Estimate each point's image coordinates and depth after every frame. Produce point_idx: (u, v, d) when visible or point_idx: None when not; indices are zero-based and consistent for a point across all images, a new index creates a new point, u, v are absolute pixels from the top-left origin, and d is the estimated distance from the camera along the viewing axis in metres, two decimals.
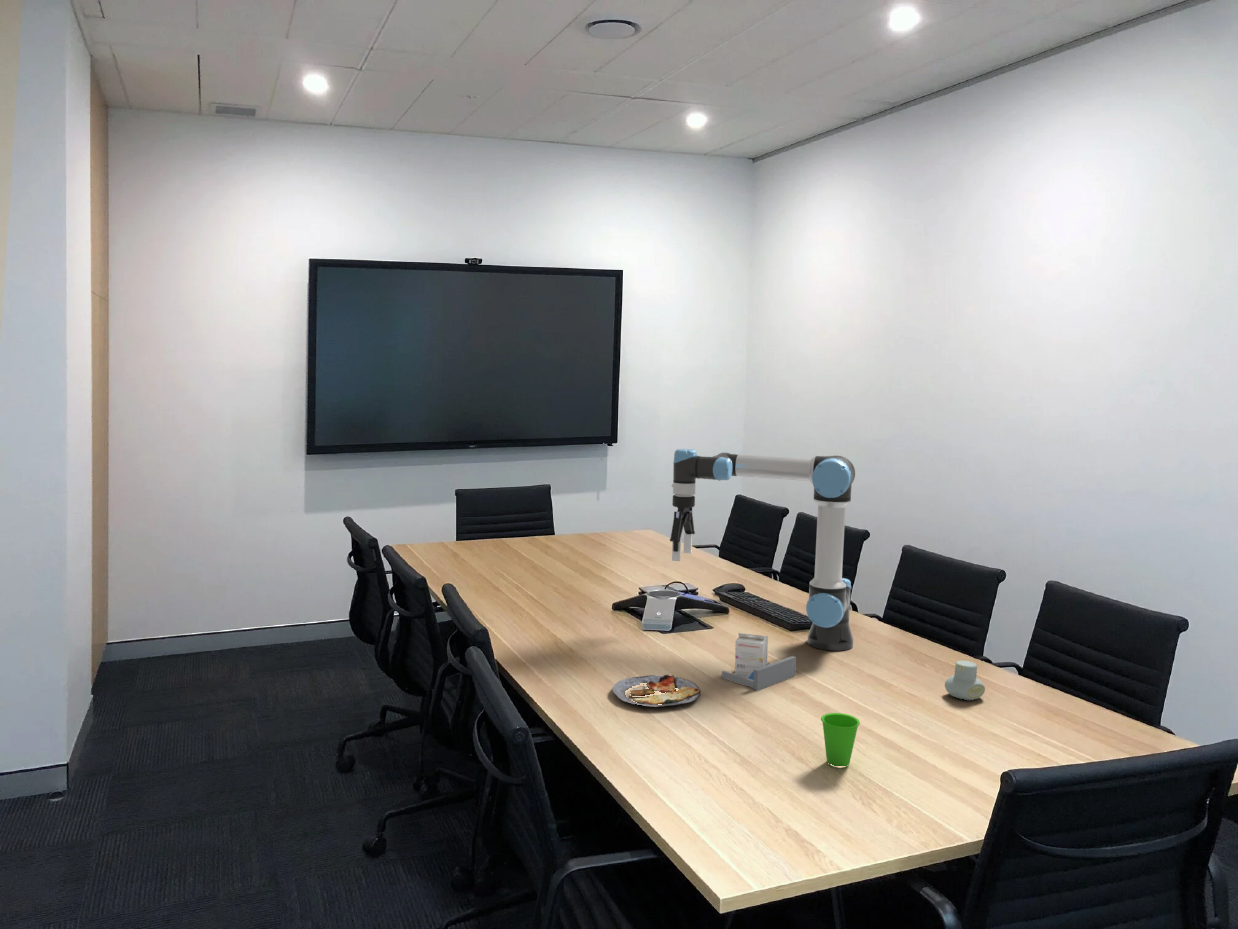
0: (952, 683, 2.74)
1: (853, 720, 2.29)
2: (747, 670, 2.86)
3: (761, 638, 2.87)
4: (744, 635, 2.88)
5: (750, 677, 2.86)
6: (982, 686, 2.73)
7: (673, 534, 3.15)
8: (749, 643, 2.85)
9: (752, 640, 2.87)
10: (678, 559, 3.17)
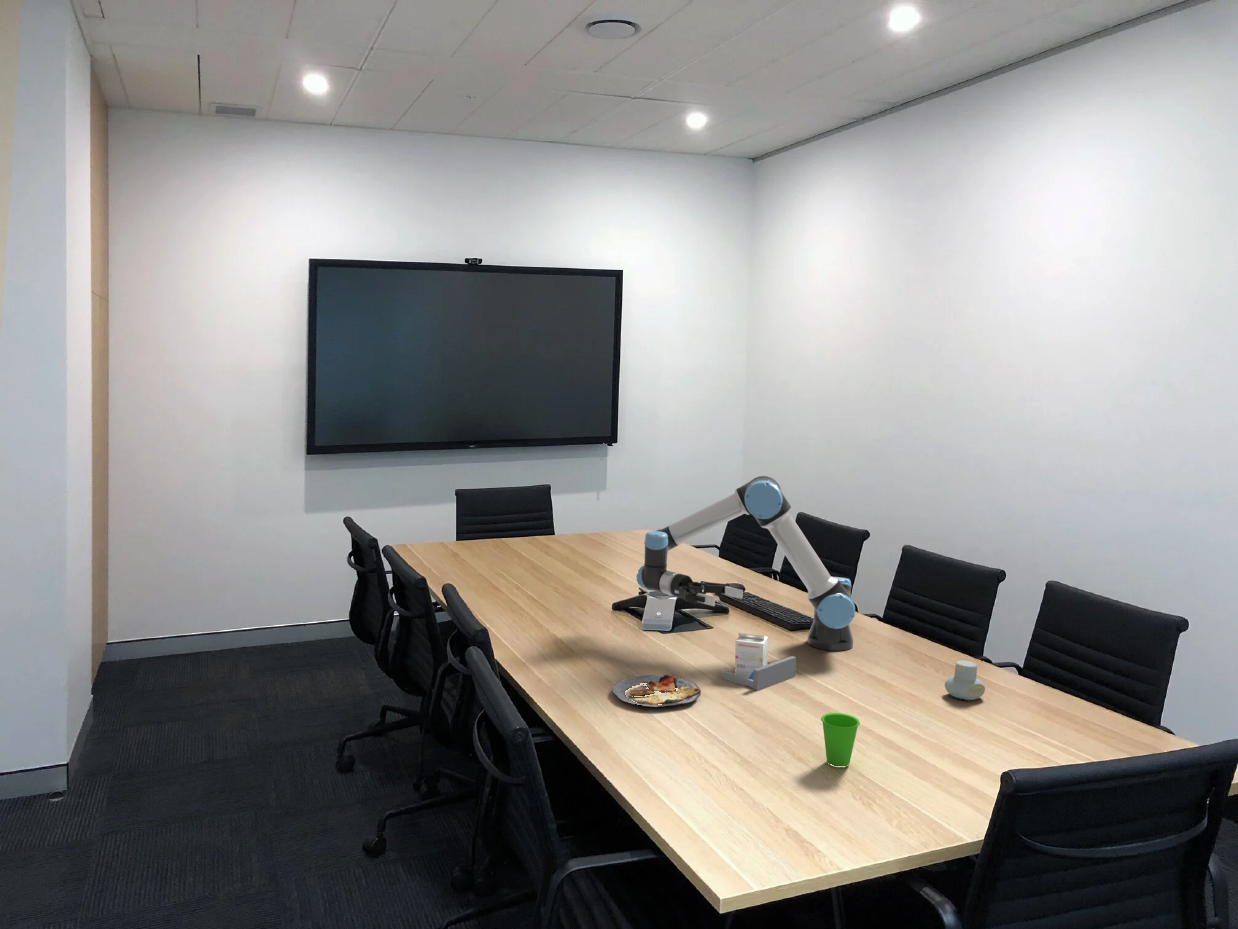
0: (952, 683, 2.74)
1: (853, 720, 2.29)
2: (747, 670, 2.86)
3: (761, 638, 2.87)
4: (744, 635, 2.88)
5: (750, 677, 2.86)
6: (982, 686, 2.73)
7: (685, 598, 2.95)
8: (749, 643, 2.85)
9: (752, 640, 2.87)
10: (712, 598, 2.90)
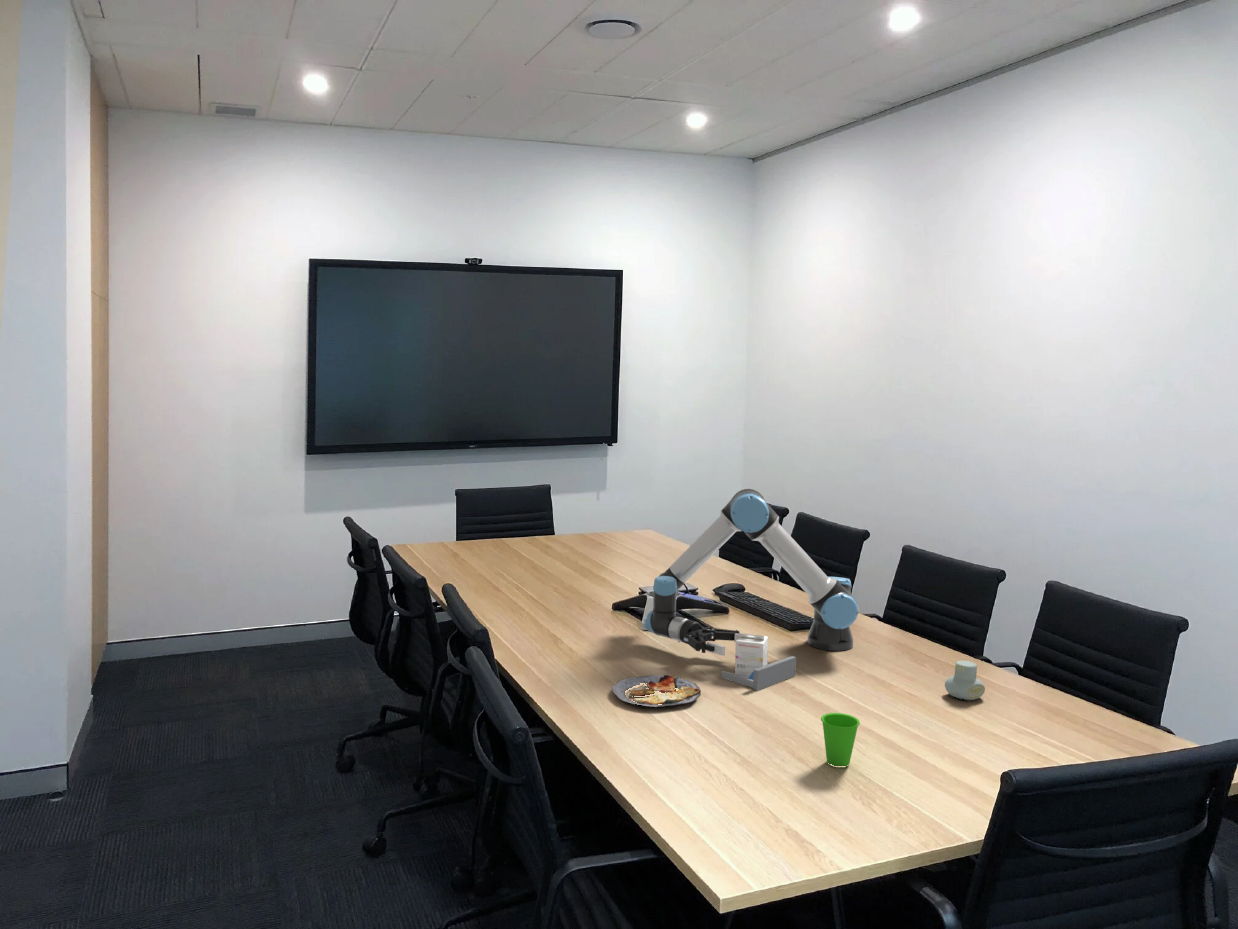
0: (952, 683, 2.74)
1: (853, 720, 2.29)
2: (747, 670, 2.86)
3: (761, 638, 2.87)
4: (744, 635, 2.88)
5: (750, 677, 2.86)
6: (982, 686, 2.73)
7: (694, 647, 2.92)
8: (749, 643, 2.85)
9: (752, 640, 2.87)
10: (721, 648, 2.88)
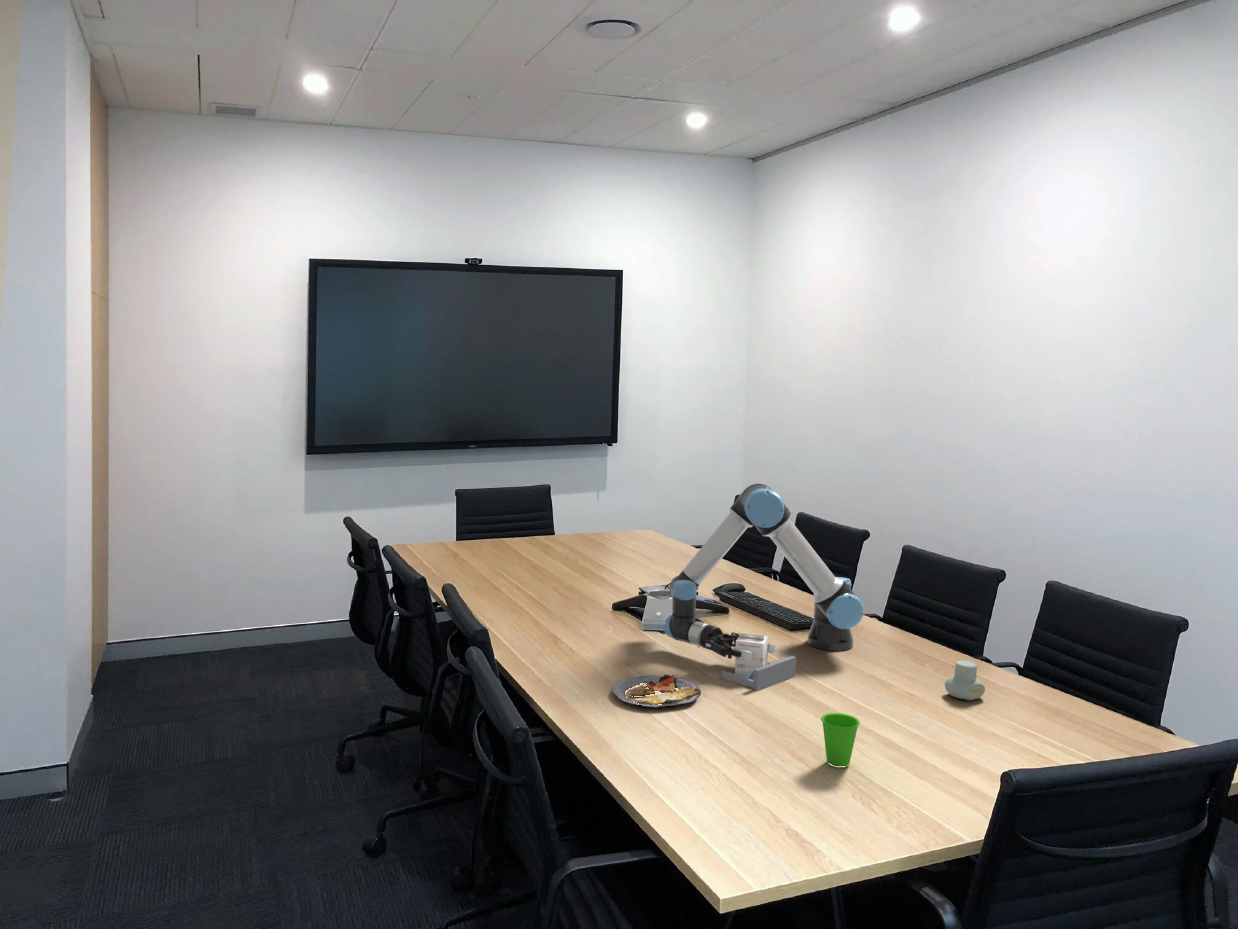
0: (952, 683, 2.74)
1: (853, 720, 2.29)
2: (747, 670, 2.86)
3: (761, 638, 2.87)
4: (744, 635, 2.88)
5: (750, 677, 2.86)
6: (982, 686, 2.73)
7: (720, 652, 2.87)
8: (749, 643, 2.85)
9: (752, 640, 2.87)
10: (748, 653, 2.83)
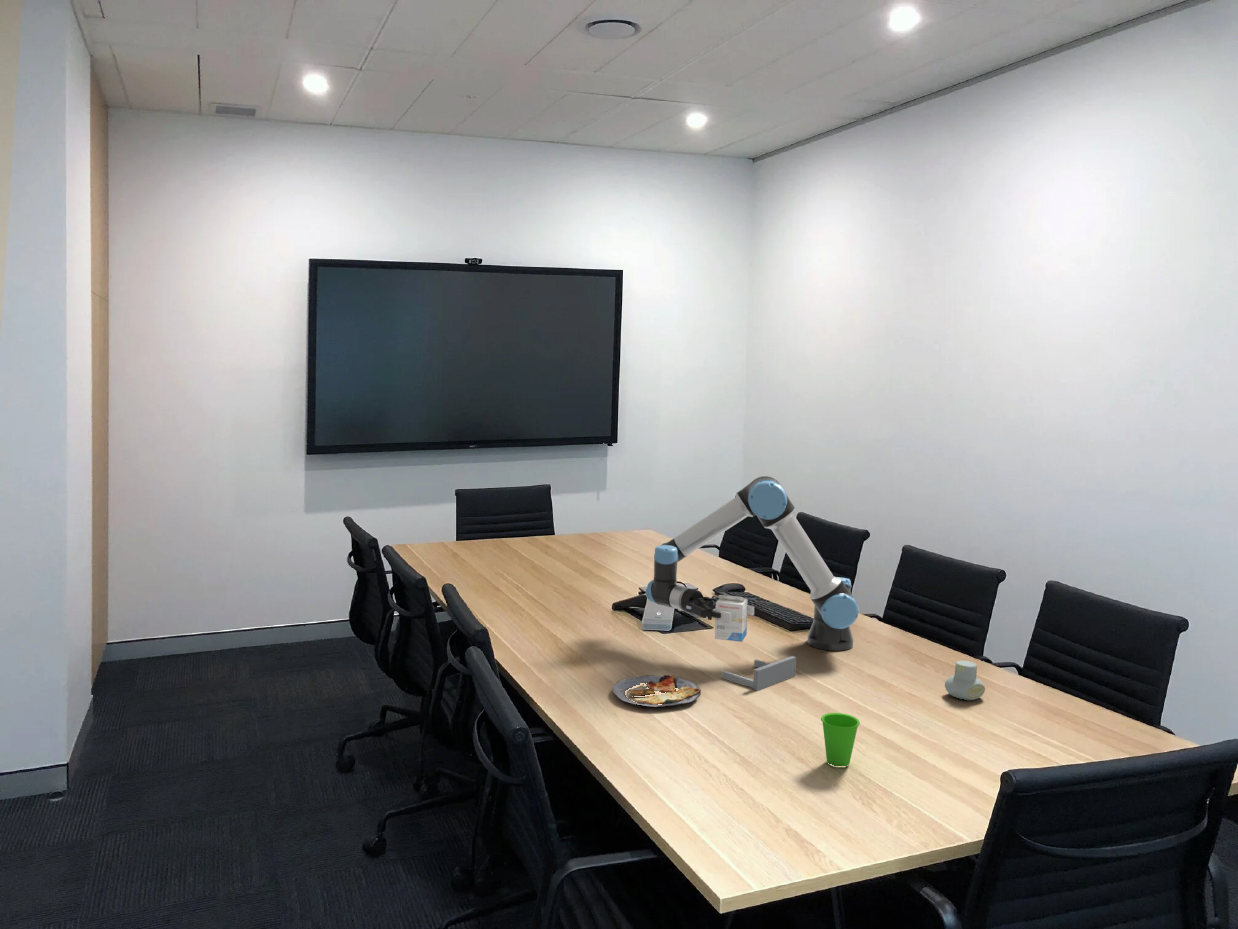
0: (952, 683, 2.74)
1: (853, 720, 2.29)
2: (727, 631, 2.90)
3: (741, 600, 2.92)
4: (724, 597, 2.93)
5: (730, 638, 2.91)
6: (982, 686, 2.73)
7: (700, 614, 2.91)
8: (729, 604, 2.89)
9: (732, 601, 2.91)
10: (728, 614, 2.87)
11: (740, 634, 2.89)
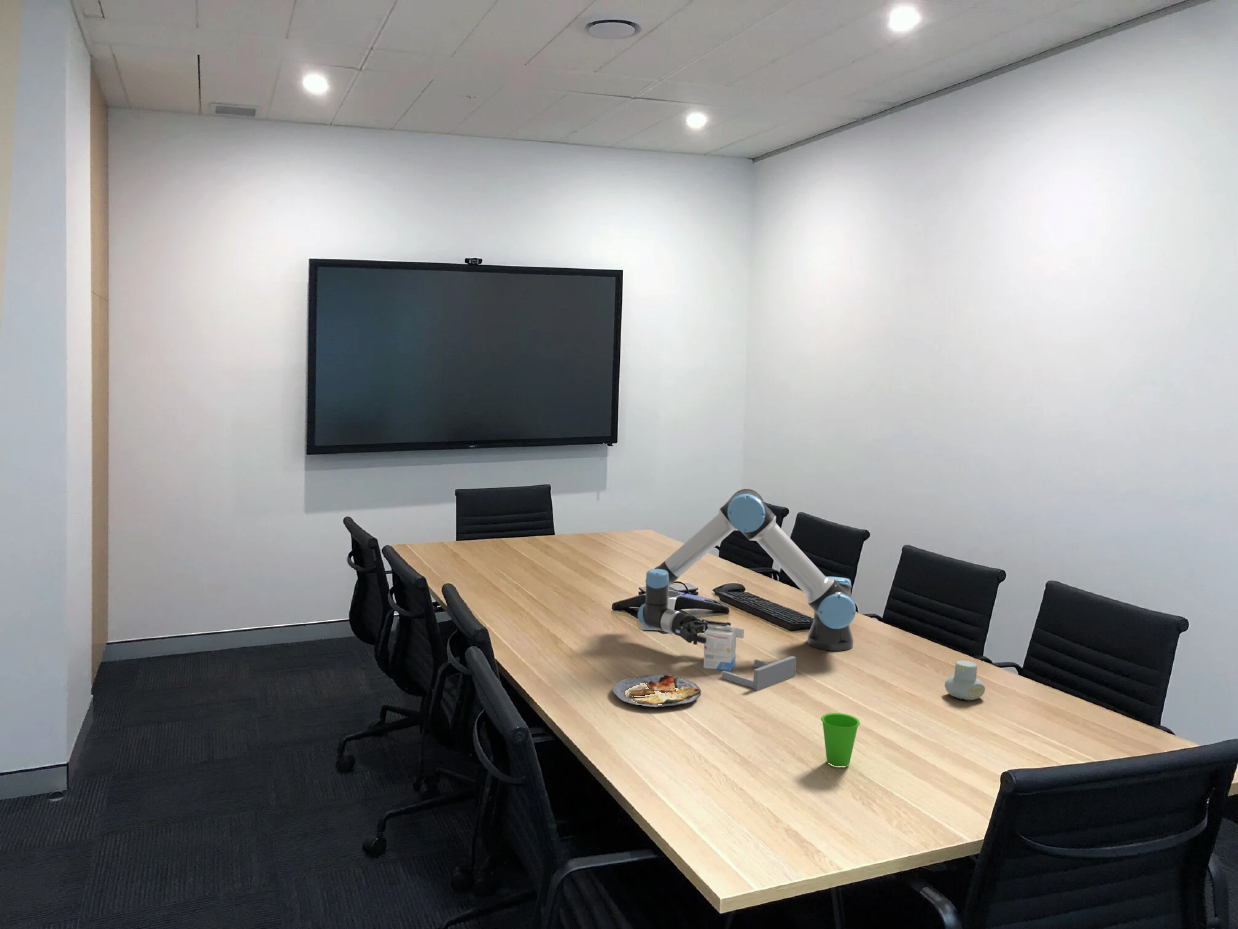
0: (952, 683, 2.74)
1: (853, 720, 2.29)
2: (715, 660, 2.95)
3: (729, 629, 2.96)
4: (713, 626, 2.97)
5: (718, 667, 2.95)
6: (982, 686, 2.73)
7: (686, 638, 2.95)
8: (717, 634, 2.94)
9: (720, 631, 2.95)
10: (713, 639, 2.91)
11: (728, 663, 2.93)
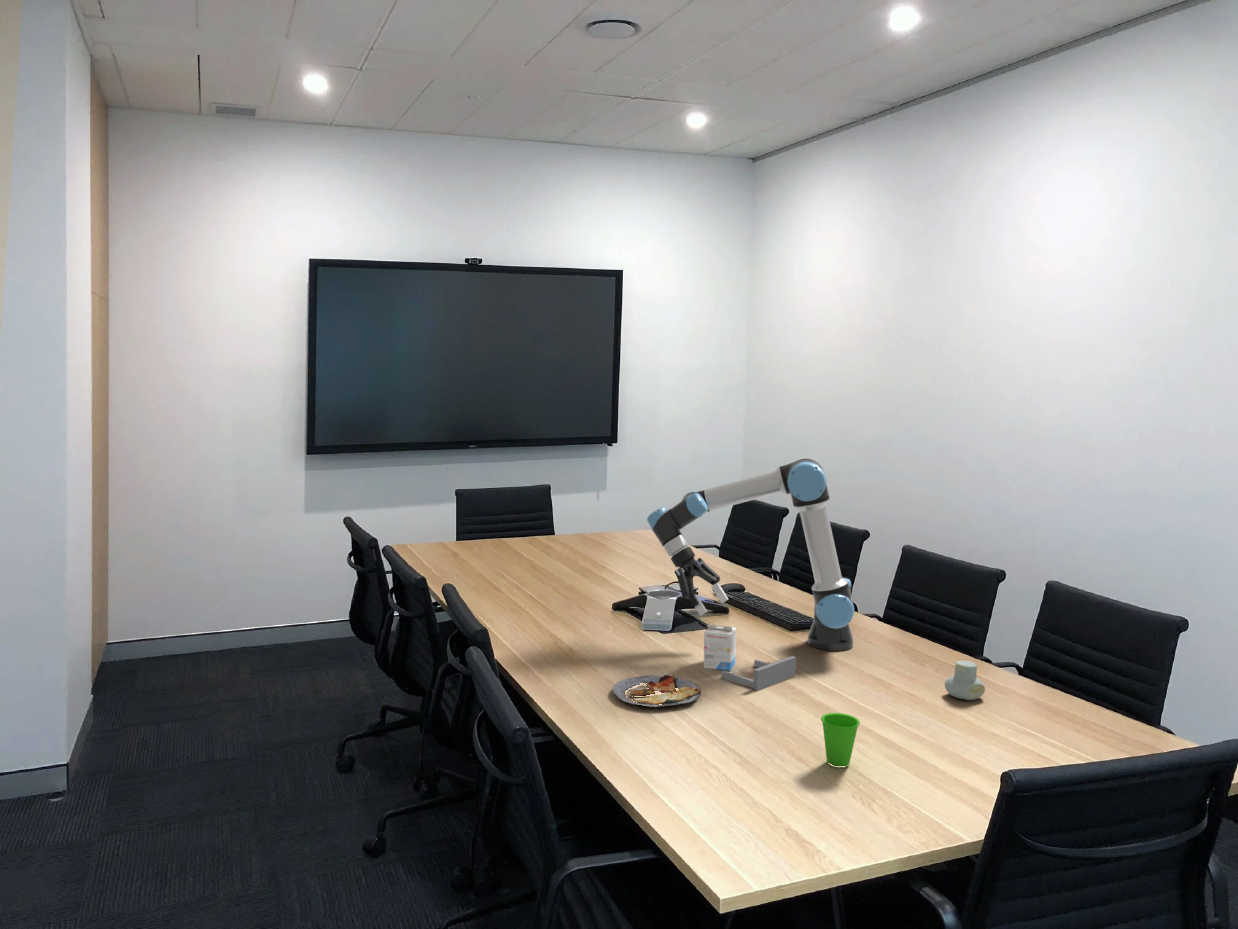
0: (952, 683, 2.74)
1: (853, 720, 2.29)
2: (715, 660, 2.95)
3: (729, 629, 2.96)
4: (713, 626, 2.97)
5: (718, 667, 2.95)
6: (982, 686, 2.73)
7: (682, 591, 3.03)
8: (717, 634, 2.94)
9: (720, 631, 2.95)
10: (704, 611, 3.03)
11: (728, 663, 2.93)
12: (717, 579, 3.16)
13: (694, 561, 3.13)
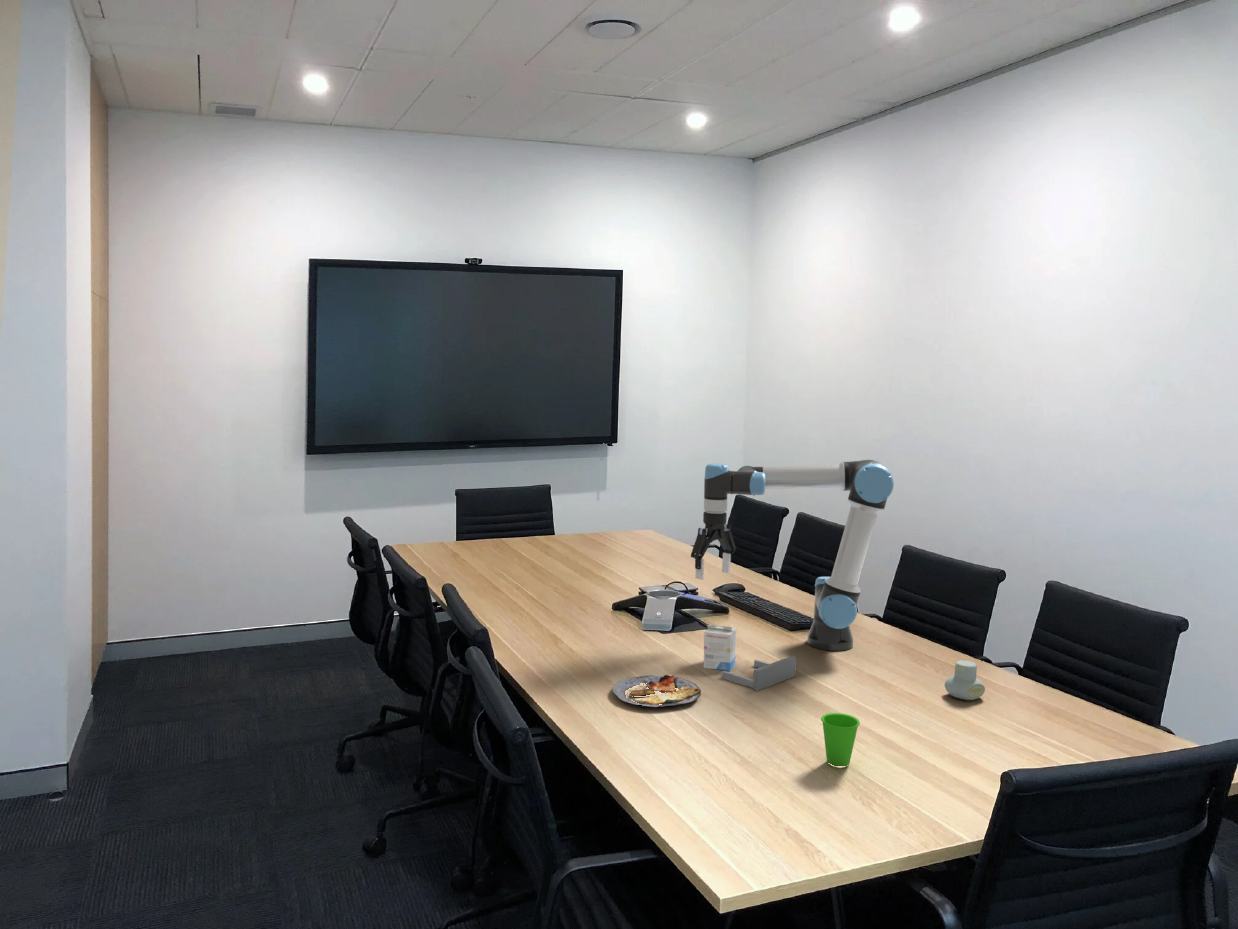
0: (951, 683, 2.74)
1: (853, 720, 2.29)
2: (715, 660, 2.95)
3: (729, 629, 2.96)
4: (713, 626, 2.97)
5: (718, 667, 2.95)
6: (982, 686, 2.73)
7: (693, 551, 3.05)
8: (717, 634, 2.94)
9: (720, 631, 2.95)
10: (700, 577, 3.06)
11: (728, 663, 2.93)
12: (732, 550, 3.16)
13: (722, 526, 3.11)
